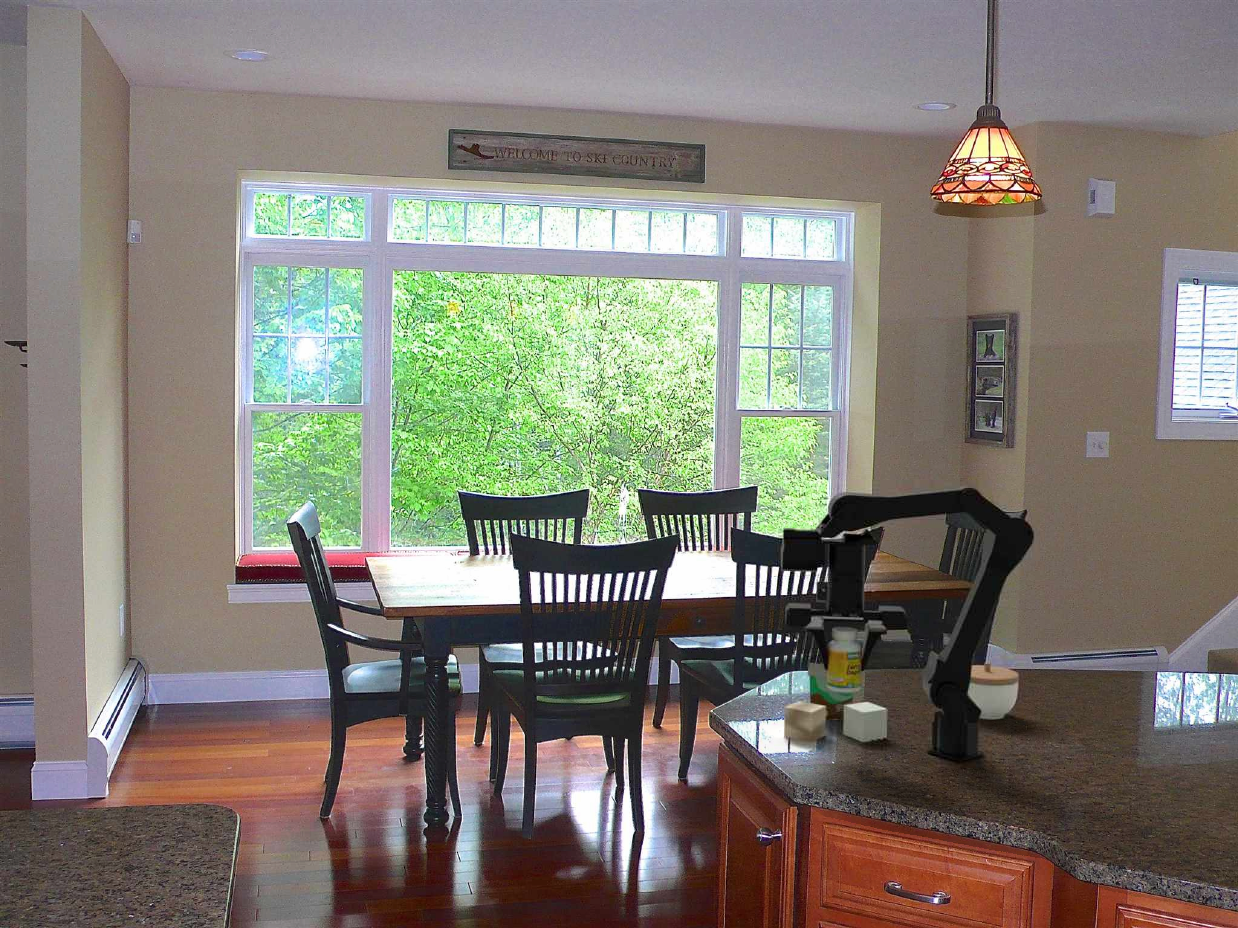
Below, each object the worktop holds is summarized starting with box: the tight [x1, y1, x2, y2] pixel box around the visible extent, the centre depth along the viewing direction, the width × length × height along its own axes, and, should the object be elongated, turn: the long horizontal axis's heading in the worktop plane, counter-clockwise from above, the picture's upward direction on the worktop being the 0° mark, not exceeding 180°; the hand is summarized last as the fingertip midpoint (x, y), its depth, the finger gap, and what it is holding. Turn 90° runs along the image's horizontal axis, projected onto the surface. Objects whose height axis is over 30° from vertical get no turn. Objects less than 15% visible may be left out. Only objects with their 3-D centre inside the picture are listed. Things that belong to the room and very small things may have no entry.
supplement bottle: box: [826, 626, 863, 693], centre depth 185 cm, size 5×5×10 cm
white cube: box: [842, 701, 888, 743], centre depth 194 cm, size 5×5×5 cm
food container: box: [807, 661, 854, 721], centre depth 206 cm, size 12×6×10 cm, turn 143°
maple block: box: [783, 700, 827, 743], centre depth 193 cm, size 5×5×5 cm
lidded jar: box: [968, 661, 1020, 720], centre depth 207 cm, size 11×11×9 cm
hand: (844, 669), depth 185 cm, fingers closed on supplement bottle, 5 cm apart
